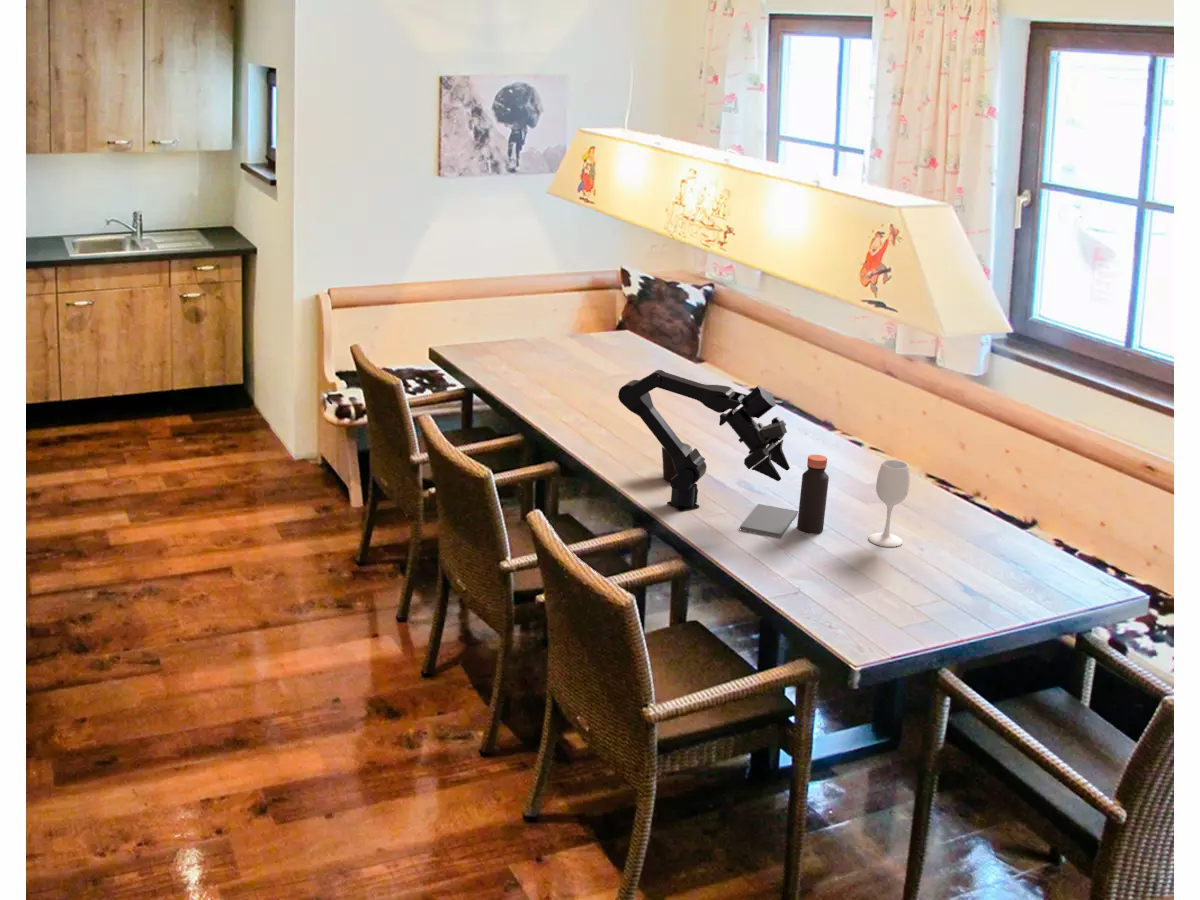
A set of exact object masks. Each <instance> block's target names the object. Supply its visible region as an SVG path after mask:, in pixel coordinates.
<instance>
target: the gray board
mask: <svg viewBox="0 0 1200 900" xmlns="http://www.w3.org/2000/svg"><path fill="white" fill-rule="evenodd" d="M798 513H799V510H794V509H790V508H789V509H788V508H783V507H779V506H773V505H772V506H771V505H767V504H760V503H757V505H756V506H755V507H754V508H753V510H752V511H751V513H749V514H748V516H747V517H746V518H745V519H744V521H743V522H742V524H740V526H739V530H740V529H741V530H740V531H743V530H745V532H749V531H751V532H750V533H754V532H756V533H755V534H759V533H760V534H761V535H765V536H771V537H776V538H783V535H784V534H785V533H786V532H787V530H788V529H789V528H790V524H791V525H792V524H793V522H792V521H794V520H795V519H796V518H797V517H798V515H797V514H798Z"/></svg>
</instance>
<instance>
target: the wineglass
mask: <svg viewBox="0 0 1200 900" xmlns="http://www.w3.org/2000/svg"><path fill="white" fill-rule="evenodd" d="M910 474H911V473H910V466H909V464H908V463H907V462H904V461H902V460H898V459H886V460H883V461H882V462H881V464H880V467H879V471H878V474H877V478H876V485H875V487H876V488H875V489H876V490H875V491H876V494H877V496H878V498H879V500H880V501H881V502H883V504H885V505H886V519H885V520H886V521H885V527H884V530H883V532H875V533H873V534H870V535H869V536H868V540H869V541H870V543H872V544H874V545H877V546H881V547H884V548H885V547H886V548H896V546H897V547H899V546H902V545H903V543H904V542H903V539H902V538H900V537H899V536H897V535H896V534H893V533H890V527H891V526H890V524H891V517H892V511H893V508H894V507H895V506H897V505H899V504H900V503H902V502H903V501H904V500H905V499H906V497H907V496H908V493H909V490H910V489H909V488H910V483H911V481H910V480H911V479H910V478H911V477H910ZM901 544H902V545H901Z"/></svg>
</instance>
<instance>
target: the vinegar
mask: <svg viewBox="0 0 1200 900" xmlns="http://www.w3.org/2000/svg"><path fill="white" fill-rule="evenodd" d="M827 464H828V457H826V456H824V455H822V454H810V455H808V456H807V470H805V471H804V472H803V473H802V477H801V485H800V496H799V505H798V515H797V524H796V528H797V530H798V531H799V532H801V533H803V532H804V533H803V534H807V533H808V535H817V534H821V533H822V532H823V531H824V526H825V525H824V523H825V517H826V507H827V496H828V489H829V481H830V480H829V479H830V478H829V475H828V474H827V472H826V471H825V470H826V469H827Z"/></svg>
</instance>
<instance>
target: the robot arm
mask: <svg viewBox="0 0 1200 900" xmlns="http://www.w3.org/2000/svg"><path fill="white" fill-rule="evenodd" d="M655 388H658V389H662V390H664V391H668V392H671V393H674V394H677V395H680V396H684V397H685V398H689V399H692V400H695V401H698V402H700V403H701V404H702V405H704V406H705V407H706V408H708V409H710V410H711V411H714V412H715V413H719V426H721V427H722V426H723V425H724V424H725V423H727V424H728V425H729V426H730V427H731V428H732V430H733V431H734V432H735V434H736V435H737V436H738V437H739V439H738V441H739V443H740V444H741V443H743V444H744V445H745V446H746V447H747V449H749V451H748V455H747V456H746V457H745V458H744V460H743V464H744V466H745V467H746V468H747V470H750V469H751V471H755V472H758V473H760V474H762V475H765V476H767V477H769V478H770V479H773V480H774V481H777V482H780V481H781V480H782V478H781V475H780V473H779V472H778V470H777V469H776V467H775V466H774V465H773V462H774V463H775V464H776V465H777V466H779V467H780V468H782V469H784V470H785V471H788V470H790V469H791V467H790V465H789V463H788V460H787V458H786V456H785V453H784V451H783V443H784V439H783V438H784V436H786V435H785V434H787V433H788V431H787V429H786V426H787V423H786V422H785V421H784V419H783V420H782V419H781V418H780V417H779V416H777V417H774V418H772V419H771V423H769V424H767V425H764V424H762V422H761V423H760V422H758V423H757V422H756V421H755V419H754V418H756V419H760V418H761V417H763V416H764V415H765V414H766V413H768V412H770V410H772V409H773V408H775V406H776V399H775V398H774V396H773V395H772V393H771V392H769V391H768V390H766V389H764V388H762V386H761V385H757V386H756V387H755V388H754V389H752V391H751V392H749V393H748V394H744V393H742V392H738V391H735V390H734V389H733V388H732V387H730V386H727V385H721V384H705V383H702V382H698V381H694V380H691V379H688V378H685V377H681V376H679V375H675V374H672V373H669V372H666V371H664V370H662V369H657V370H654V371H653V372H652V373H649V375H647V376H645V377H643V378H642V379H640V380H638V379H632V380H630V381H628V382H627V383H625V385H623V386H622V387H620V388H619V390H618V395H617V398H618V400H619V402H620V403H621V405H623V406H624V407H626V409H628V410H629V412H631V413H634V414H635V415H637V416H638V417H639V418H640V419H641V421H642V422H643V423H644V424H645V425H646V427H647V428H648V429H649V430H650V432H651V434H653V436H654V437H655V438H656V440H657V441H658V442H659V443H660V444H661V447H662V446H663V447H664V448H665V450H666V451H667V452H668V454H669V455H670V456H671V458H672V460H673V463H674V467H675V470H676V472H677V474H676V475H675V476H674V477H673V478H672V479H671V480H670V483H669V484H670V486H671V492H670V493H671V495H670V501H667V502H666V504H667V505H669V506H670V507H672V508H674V509H676V510H678V511H679V512H684V511H689V510H693V509H698V508H700V505H699V504H698V503H697V502H698V494H699V493H698V492H699V490H698V483H697V482H699V480H701V478H702V477H703V476H704V475H705V474H706V472H707V464H706V462H705V461H706V458H705V457H703V456H702V455H701V453H700V452H699V450H698V449H697V448H696V447H695V448H694V449H692V451H691V450H690V449H688V448H686V447H685V446H684V445H683V443H684V442H683V443H682V441H681V439H680V438H679V437H678V436H677V434H676V433H675V432H674V430H673V429H672V428H671V426H670V425H669V424H668V422H666V420H665V418H663V416H662V415H661V413H660V412H659V411H658V410H657V409H656V407H655V406H654V404H653V400H652V397H651V394H650V392H651V391H653V390H655ZM741 405H742V406H741ZM739 406H741V407H739ZM738 407H739V408H738ZM728 410H729V411H728ZM727 411H728V412H727ZM725 412H727V413H725Z"/></svg>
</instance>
